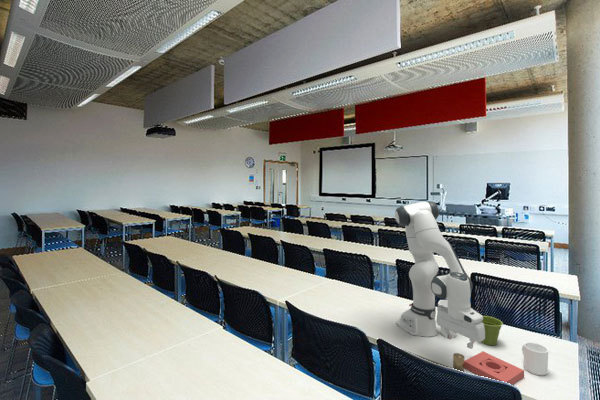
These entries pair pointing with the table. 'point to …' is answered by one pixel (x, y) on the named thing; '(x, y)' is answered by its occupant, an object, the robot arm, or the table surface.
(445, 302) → the cup
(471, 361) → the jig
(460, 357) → the tan cylinder plug
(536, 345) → the mug
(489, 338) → the plant pot
